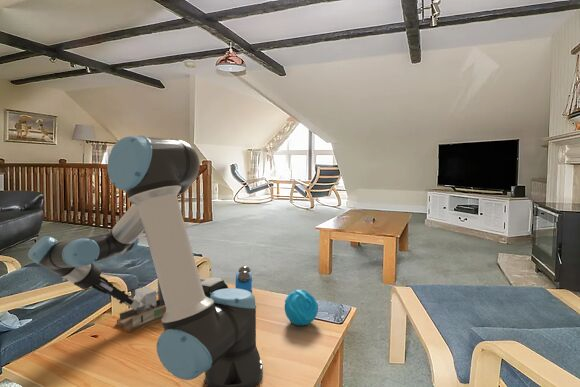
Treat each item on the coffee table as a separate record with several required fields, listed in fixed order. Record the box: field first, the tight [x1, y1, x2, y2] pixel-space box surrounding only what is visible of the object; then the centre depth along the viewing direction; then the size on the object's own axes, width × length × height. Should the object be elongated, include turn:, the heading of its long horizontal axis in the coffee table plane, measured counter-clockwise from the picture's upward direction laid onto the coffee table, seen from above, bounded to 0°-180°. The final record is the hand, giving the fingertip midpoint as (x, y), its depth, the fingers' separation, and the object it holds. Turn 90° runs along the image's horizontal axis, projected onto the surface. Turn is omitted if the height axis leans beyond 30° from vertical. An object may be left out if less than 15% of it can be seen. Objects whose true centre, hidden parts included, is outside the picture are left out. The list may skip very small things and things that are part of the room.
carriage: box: [134, 286, 157, 315], centre depth 119 cm, size 9×4×9 cm, turn 52°
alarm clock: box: [235, 265, 253, 294], centre depth 130 cm, size 13×6×15 cm, turn 6°
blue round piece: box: [284, 289, 319, 327], centre depth 116 cm, size 12×11×12 cm
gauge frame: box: [116, 280, 166, 333], centre depth 120 cm, size 10×20×12 cm, turn 142°
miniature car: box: [201, 276, 229, 298], centre depth 136 cm, size 9×18×8 cm, turn 151°
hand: (137, 306), depth 117 cm, fingers closed
